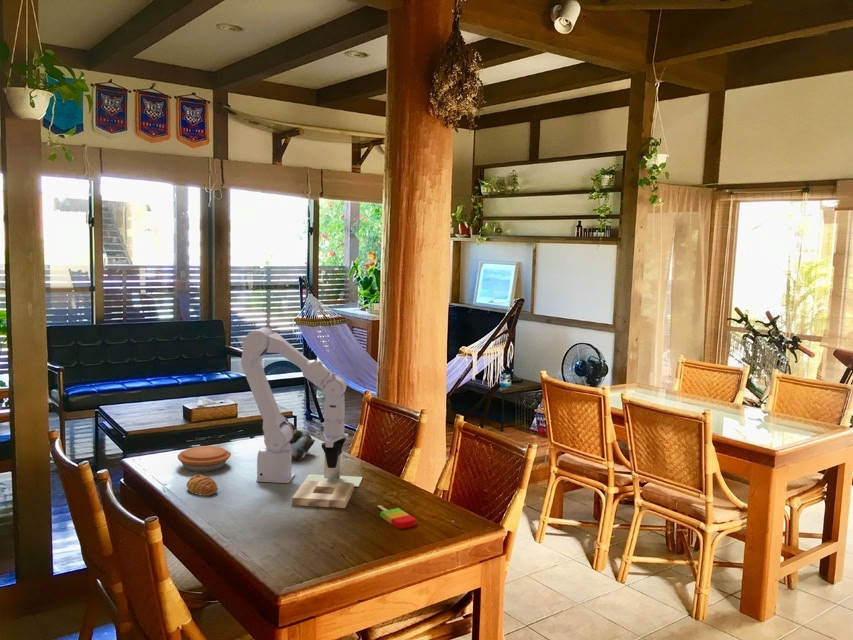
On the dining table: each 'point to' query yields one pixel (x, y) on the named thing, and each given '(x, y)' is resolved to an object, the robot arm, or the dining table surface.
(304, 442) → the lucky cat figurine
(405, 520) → the popsicle
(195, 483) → the pastry
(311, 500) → the pocket board
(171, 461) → the dining table surface
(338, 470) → the block
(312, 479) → the mat
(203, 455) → the pie
